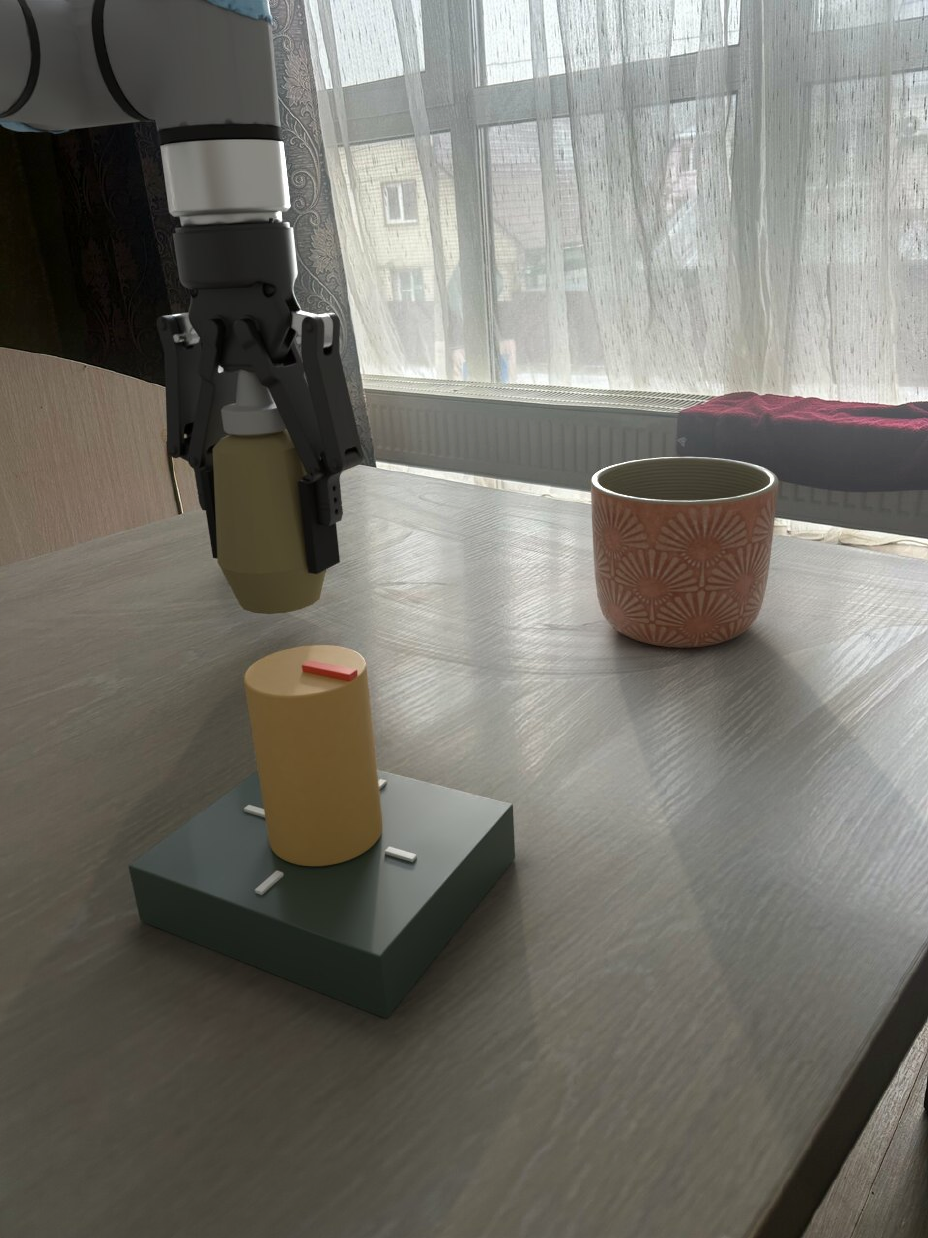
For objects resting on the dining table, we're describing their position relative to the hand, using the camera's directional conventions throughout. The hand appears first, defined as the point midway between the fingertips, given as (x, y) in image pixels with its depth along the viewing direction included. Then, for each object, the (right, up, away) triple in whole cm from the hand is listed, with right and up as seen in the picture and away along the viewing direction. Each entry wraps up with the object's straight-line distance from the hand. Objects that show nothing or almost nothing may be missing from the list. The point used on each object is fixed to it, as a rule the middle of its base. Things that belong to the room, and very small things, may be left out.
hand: (275, 559), depth 70 cm
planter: (+29, -5, 0) cm, 30 cm away
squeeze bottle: (0, -3, +1) cm, 3 cm away
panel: (+8, -17, -26) cm, 32 cm away
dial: (+8, -14, -27) cm, 31 cm away
